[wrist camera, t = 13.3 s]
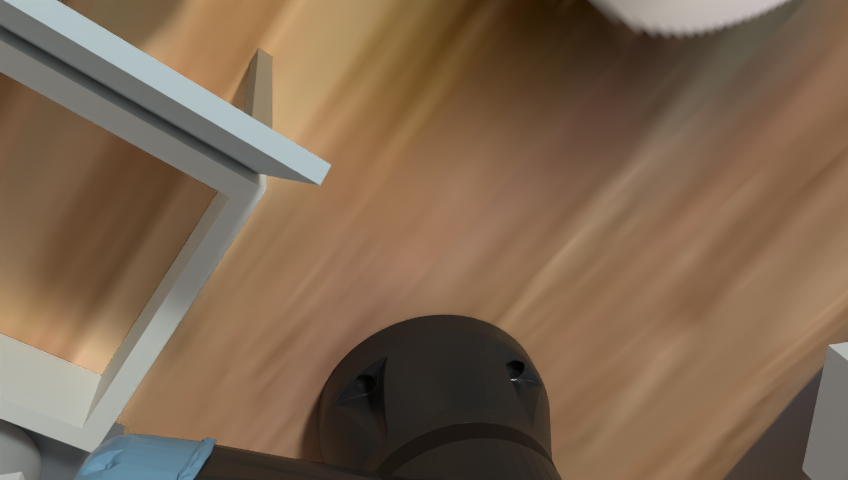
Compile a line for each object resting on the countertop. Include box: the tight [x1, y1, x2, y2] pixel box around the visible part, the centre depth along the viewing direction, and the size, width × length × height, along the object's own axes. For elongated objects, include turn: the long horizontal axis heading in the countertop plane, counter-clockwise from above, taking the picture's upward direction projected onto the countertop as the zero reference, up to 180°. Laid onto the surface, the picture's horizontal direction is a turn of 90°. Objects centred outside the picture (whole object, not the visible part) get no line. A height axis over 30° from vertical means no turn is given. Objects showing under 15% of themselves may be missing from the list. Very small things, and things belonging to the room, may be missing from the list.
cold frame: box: [0, 0, 331, 452], centre depth 32 cm, size 23×18×16 cm
